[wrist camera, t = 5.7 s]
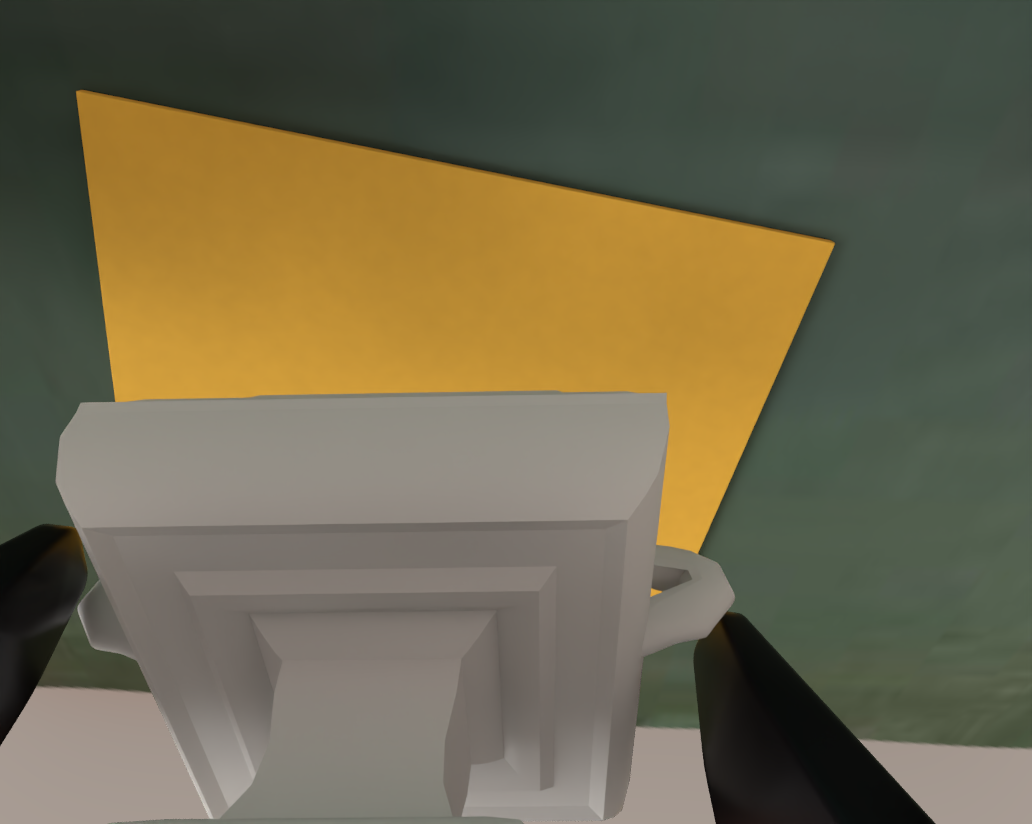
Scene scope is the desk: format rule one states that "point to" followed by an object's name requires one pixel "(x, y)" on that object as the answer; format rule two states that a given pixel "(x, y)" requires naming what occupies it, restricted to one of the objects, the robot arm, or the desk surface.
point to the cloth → (429, 284)
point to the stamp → (388, 595)
